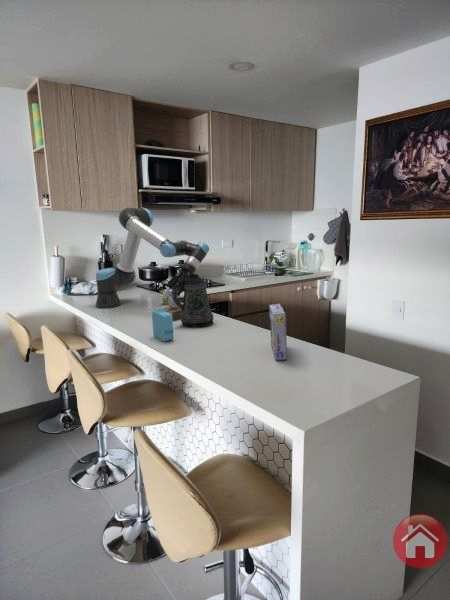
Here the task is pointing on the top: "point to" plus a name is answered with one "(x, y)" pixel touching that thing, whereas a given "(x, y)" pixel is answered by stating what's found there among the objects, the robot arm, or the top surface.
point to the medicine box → (171, 302)
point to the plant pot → (165, 301)
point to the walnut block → (174, 312)
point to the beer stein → (193, 302)
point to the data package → (162, 325)
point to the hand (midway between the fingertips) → (168, 299)
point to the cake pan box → (278, 332)
